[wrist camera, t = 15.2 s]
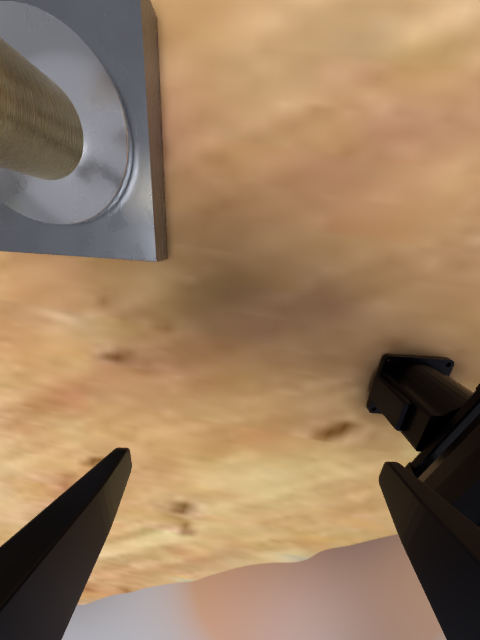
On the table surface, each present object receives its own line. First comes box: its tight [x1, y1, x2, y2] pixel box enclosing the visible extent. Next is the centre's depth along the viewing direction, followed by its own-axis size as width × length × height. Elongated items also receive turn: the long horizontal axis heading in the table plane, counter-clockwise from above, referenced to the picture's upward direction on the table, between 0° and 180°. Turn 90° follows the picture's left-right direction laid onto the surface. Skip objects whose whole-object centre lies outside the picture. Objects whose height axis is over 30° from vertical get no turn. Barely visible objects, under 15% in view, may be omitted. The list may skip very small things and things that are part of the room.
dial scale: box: [0, 0, 167, 261], centre depth 13 cm, size 14×14×4 cm
